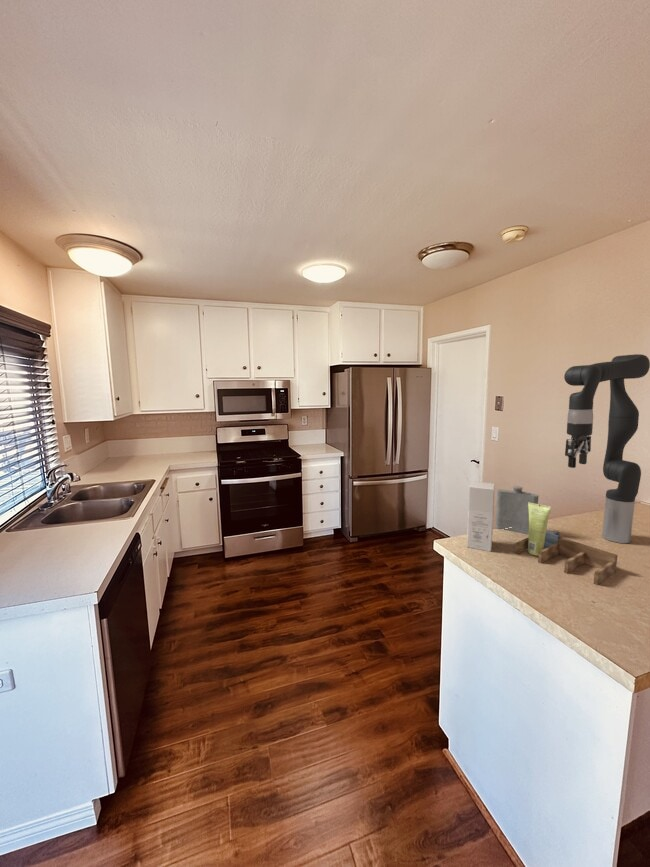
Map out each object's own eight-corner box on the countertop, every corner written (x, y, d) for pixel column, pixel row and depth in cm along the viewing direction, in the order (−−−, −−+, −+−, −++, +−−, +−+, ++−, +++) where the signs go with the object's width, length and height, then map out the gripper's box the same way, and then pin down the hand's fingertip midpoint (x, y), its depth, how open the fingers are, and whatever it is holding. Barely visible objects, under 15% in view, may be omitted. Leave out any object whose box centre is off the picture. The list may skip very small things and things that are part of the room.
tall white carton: (492, 543, 145) (495, 483, 141) (490, 551, 137) (494, 489, 134) (469, 538, 149) (471, 481, 145) (466, 547, 141) (469, 486, 138)
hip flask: (494, 528, 159) (496, 485, 157) (496, 525, 163) (498, 483, 160) (535, 536, 151) (538, 490, 148) (536, 533, 154) (539, 488, 151)
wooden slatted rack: (535, 543, 144) (536, 524, 143) (616, 571, 121) (618, 548, 120) (514, 552, 136) (515, 532, 135) (597, 584, 113) (599, 560, 112)
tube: (538, 550, 138) (542, 501, 135) (547, 556, 133) (551, 506, 130) (524, 550, 137) (528, 502, 135) (533, 556, 132) (536, 506, 130)
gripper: (577, 419, 134) (574, 461, 136) (558, 422, 127) (556, 466, 129) (600, 420, 128) (597, 464, 130) (582, 424, 120) (580, 470, 123)
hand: (577, 465), depth 129 cm, fingers open, 8 cm apart
